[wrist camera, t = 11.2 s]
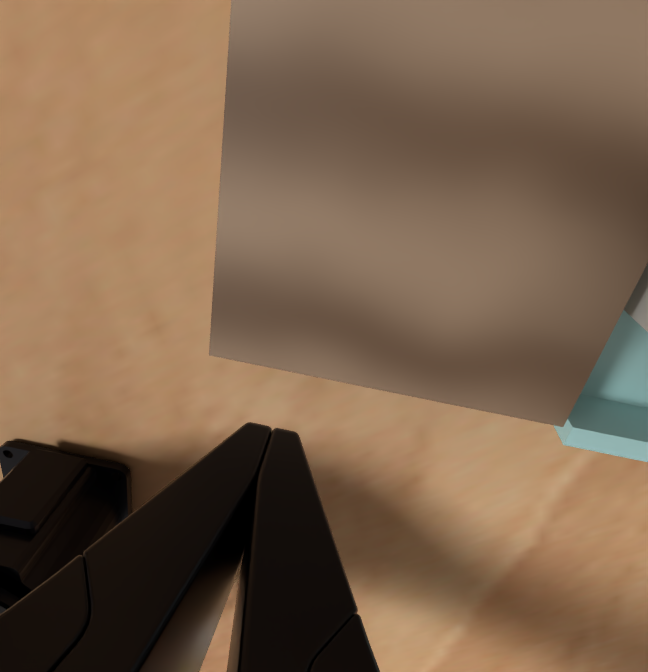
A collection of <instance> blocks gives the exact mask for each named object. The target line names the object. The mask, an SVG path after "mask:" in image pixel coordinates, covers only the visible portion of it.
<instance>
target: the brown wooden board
mask: <svg viewBox="0 0 648 672" xmlns="http://www.w3.org/2000/svg"><path fill="white" fill-rule="evenodd" d="M647 263H648V0H231V15H230V31H229V47H228V63H227V79H226V94H225V110H224V126H223V142H222V158H221V174H220V190H219V206H218V221H217V237H216V253H215V269H214V285H213V301H212V317H211V333H210V348H209V355H210V356H215V357H220V358H225V359H230V360H235V361H240V362H245V363H250V364H255V365H259V366H264V367H269V368H274V369H279V370H284V371H289V372H294V373H299V374H304V375H309V376H314V377H319V378H324V379H328V380H333V381H338V382H343V383H348V384H353V385H358V386H363V387H368V388H373V389H378V390H383V391H388V392H392V393H397V394H402V395H407V396H412V397H417V398H422V399H427V400H432V401H437V402H442V403H447V404H452V405H456V406H461V407H466V408H471V409H476V410H481V411H486V412H491V413H496V414H501V415H506V416H511V417H516V418H520V419H525V420H530V421H535V422H540V423H545V424H550V425H555V426H560V427H564V425H565V423H566V421H567V419H568V417H569V415H570V413H571V411H572V409H573V407H574V405H575V403H576V401H577V399H578V397H579V395H580V394H581V392H582V390H583V388H584V386H585V384H586V382H587V380H588V378H589V376H590V374H591V372H592V370H593V368H594V366H595V364H596V362H597V360H598V359H599V357H600V355H601V353H602V351H603V349H604V347H605V345H606V343H607V341H608V339H609V337H610V335H611V333H612V331H613V329H614V327H615V325H616V324H617V322H618V320H619V318H620V316H621V314H622V312H623V310H624V308H625V306H626V304H627V302H628V300H629V298H630V296H631V294H632V292H633V290H634V289H635V287H636V285H637V283H638V281H639V279H640V277H641V275H642V273H643V271H644V269H645V267H646V265H647Z"/></svg>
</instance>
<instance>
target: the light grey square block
mask: <svg viewBox="0 0 648 672" xmlns="http://www.w3.org/2000/svg"><path fill="white" fill-rule="evenodd" d="M624 311H626V312H627V313H628V314H629V315H630V316H631V317H632V318H633V319H634V320H635V321H636V322H637V323H638V324H639V325H640V326H642V327H643V328H644V329H645V330H646V331H647V332H648V263H647V265H646V267H645V269H644V271H643V273H642V275H641V277H640V279H639V281H638V283H637V285H636V287H635V289H634V290H633V292H632V294H631V296H630V298H629V300H628V302H627V304H626V306H625V308H624Z"/></svg>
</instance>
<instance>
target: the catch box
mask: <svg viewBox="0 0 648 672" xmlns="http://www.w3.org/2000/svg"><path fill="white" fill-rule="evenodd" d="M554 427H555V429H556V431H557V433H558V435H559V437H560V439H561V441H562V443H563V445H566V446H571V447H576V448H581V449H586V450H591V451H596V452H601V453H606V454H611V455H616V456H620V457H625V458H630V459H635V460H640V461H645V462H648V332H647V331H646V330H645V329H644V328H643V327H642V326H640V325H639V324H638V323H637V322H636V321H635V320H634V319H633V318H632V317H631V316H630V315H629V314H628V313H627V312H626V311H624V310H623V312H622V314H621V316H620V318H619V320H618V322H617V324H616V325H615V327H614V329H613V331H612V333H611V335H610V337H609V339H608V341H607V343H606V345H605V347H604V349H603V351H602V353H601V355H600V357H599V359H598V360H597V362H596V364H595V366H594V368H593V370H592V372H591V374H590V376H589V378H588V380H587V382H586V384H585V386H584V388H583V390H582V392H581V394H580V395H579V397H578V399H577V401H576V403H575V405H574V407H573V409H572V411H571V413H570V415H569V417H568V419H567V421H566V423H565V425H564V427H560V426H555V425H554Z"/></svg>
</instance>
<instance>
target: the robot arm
mask: <svg viewBox="0 0 648 672" xmlns="http://www.w3.org/2000/svg"><path fill="white" fill-rule="evenodd" d="M0 463H1V468H2V473H3V479H2V480H1V481H0V672H199V671H200V668H201V666H202V663H203V660H204V658H205V655H206V653H207V650H208V648H209V645H210V642H211V640H212V637H213V635H214V632H215V630H216V627H217V624H218V622H219V619H220V617H221V614H222V612H223V609H224V607H225V604H226V601H227V599H228V596H229V594H230V591H231V589H232V586H233V583H234V581H235V578H236V575H237V572H238V570H239V567H240V564H241V560H242V565H241V571H240V577H239V583H238V591H237V598H236V605H235V613H234V620H233V628H232V635H231V643H230V650H229V658H228V665H227V672H380V670H379V668H378V665H377V662H376V660H375V657H374V654H373V652H372V649H371V646H370V643H369V640H368V637H367V635H366V632H365V629H364V626H363V623H362V620H361V617H360V615H358V614H357V611H358V609H357V606H356V603H355V600H354V597H353V594H352V591H351V588H350V585H349V582H348V579H347V576H346V573H345V570H344V567H343V564H342V562H341V559H340V556H339V553H338V550H337V547H336V544H335V541H334V538H333V535H332V532H331V529H330V526H329V523H328V520H327V517H326V514H325V511H324V508H323V505H322V502H321V499H320V496H319V494H318V491H317V488H316V485H315V482H314V479H313V476H312V473H311V470H310V467H309V464H308V461H307V458H306V455H305V452H304V449H303V446H302V443H301V440H300V437H299V435H298V434H297V433H296V432H293V431H289V430H284V429H279V428H275V429H274V430H273V431H272V429H271V428H270V427H269V426H265V425H261V424H256V423H252V422H249V423H246V424H245V425H243V426H242V427H241V428H240V429H238V430H237V431H236V432H234V433H233V434H232V435H231V436H229V437H228V438H227V439H226V440H224V441H223V442H222V443H221V444H219V445H218V446H217V447H215V448H214V449H213V450H212V451H210V452H209V453H208V454H207V455H205V456H204V457H203V458H201V459H200V460H199V461H198V462H196V463H195V464H194V465H193V466H191V467H190V468H189V469H188V470H186V471H185V472H184V473H182V474H181V475H180V476H179V477H177V478H176V479H175V480H174V481H172V482H171V483H170V484H169V485H167V486H166V487H165V488H163V489H162V490H161V491H160V492H158V493H157V494H156V495H155V496H153V497H152V498H151V499H149V500H148V501H147V502H146V503H144V504H143V505H142V506H141V507H139V508H138V509H137V510H136V511H134V512H133V513H132V506H131V475H130V470H129V469H128V467H126V466H125V465H123V464H120V463H115V462H111V461H106V460H101V459H96V458H91V457H87V456H82V455H77V454H72V453H67V452H62V451H58V450H53V449H48V448H43V447H38V446H34V445H29V444H24V443H19V442H14V441H7V442H5V443H4V444H3V445H2V446H1V447H0ZM242 557H243V559H242Z"/></svg>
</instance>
